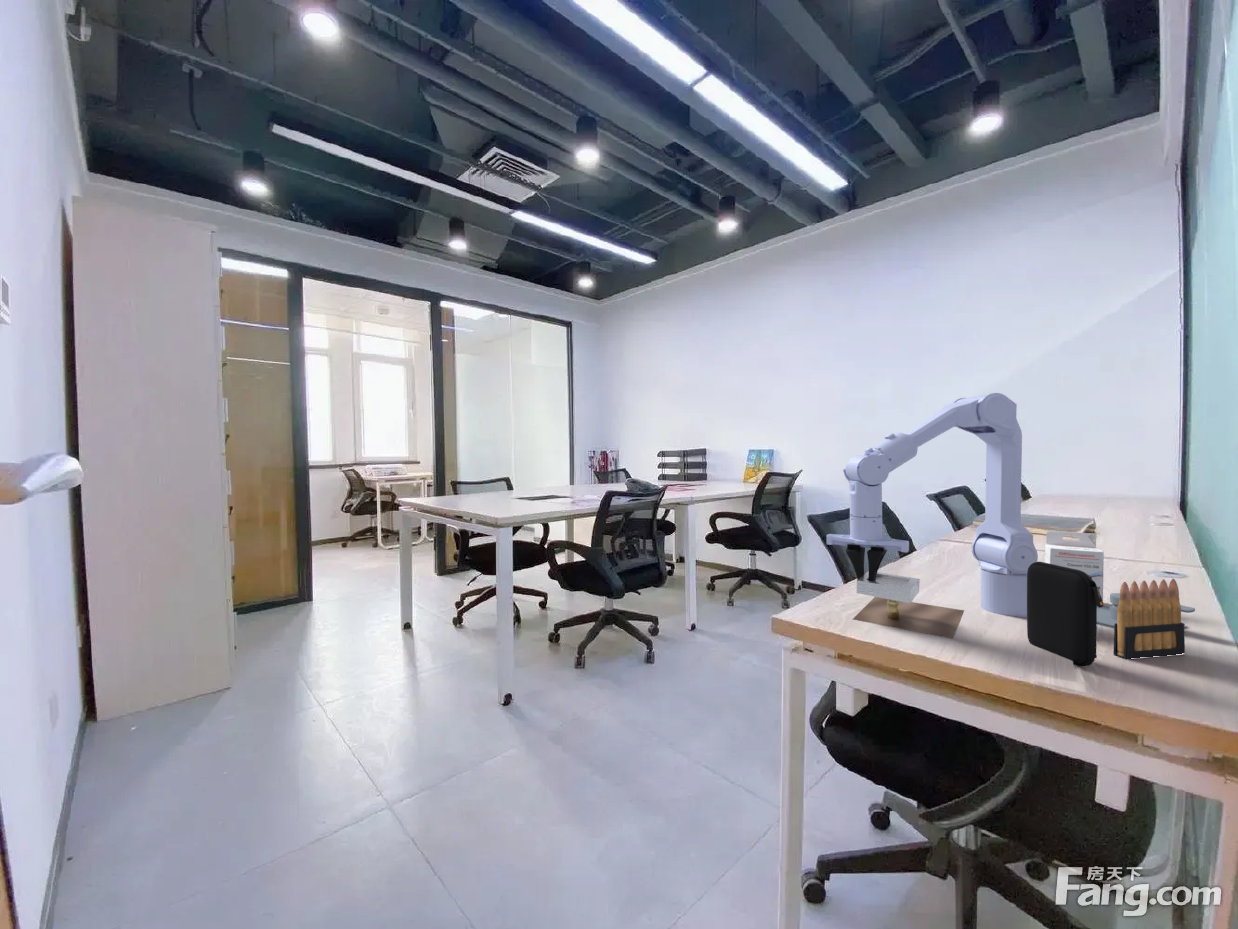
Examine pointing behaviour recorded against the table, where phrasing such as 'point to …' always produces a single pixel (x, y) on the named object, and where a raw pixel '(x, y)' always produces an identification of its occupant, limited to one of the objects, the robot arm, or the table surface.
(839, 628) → the table surface
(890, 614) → the keeper post
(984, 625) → the table surface
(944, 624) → the board
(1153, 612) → the ammunition clip
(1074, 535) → the ink cartridge box
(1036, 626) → the carrying case or bag
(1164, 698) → the table surface
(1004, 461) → the robot arm
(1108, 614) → the shower valve
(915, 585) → the steel link
